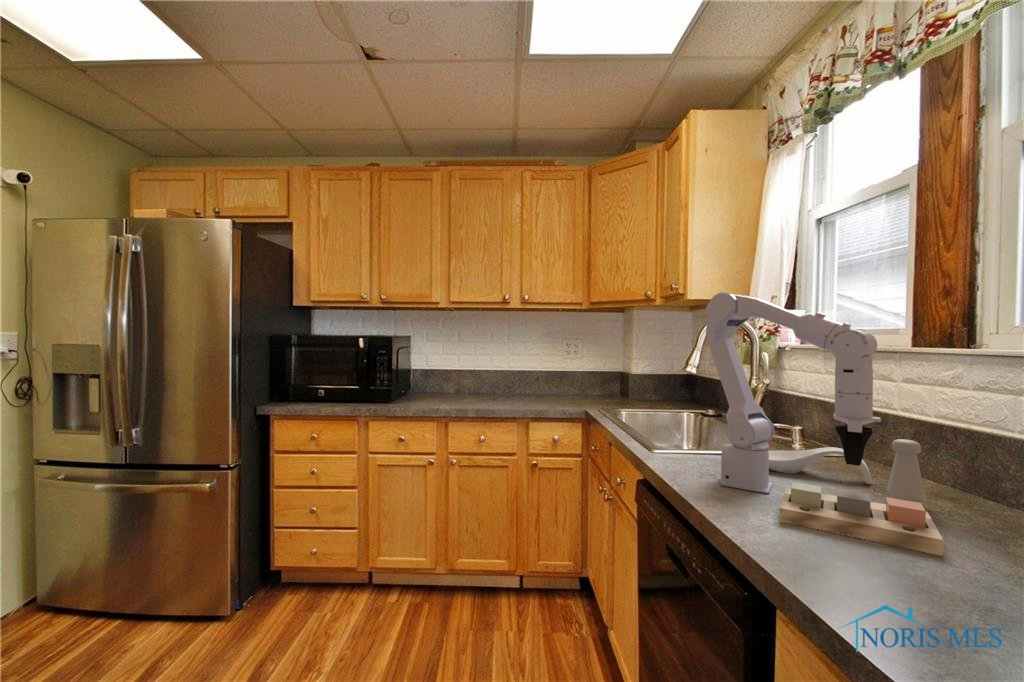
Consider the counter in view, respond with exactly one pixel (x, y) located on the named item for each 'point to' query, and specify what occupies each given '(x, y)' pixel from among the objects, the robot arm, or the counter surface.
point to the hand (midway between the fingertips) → (853, 464)
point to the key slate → (853, 503)
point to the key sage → (806, 494)
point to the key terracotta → (905, 512)
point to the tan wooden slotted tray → (862, 524)
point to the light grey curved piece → (806, 460)
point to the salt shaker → (906, 472)
